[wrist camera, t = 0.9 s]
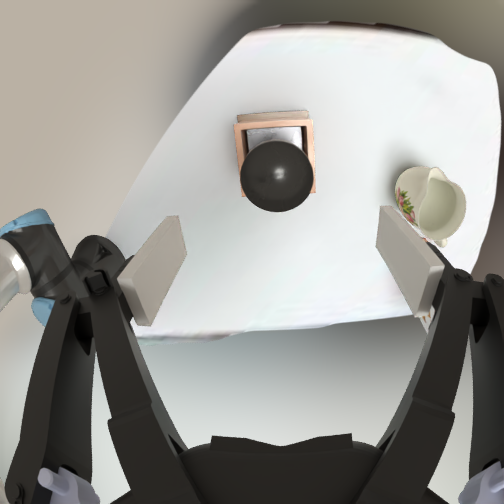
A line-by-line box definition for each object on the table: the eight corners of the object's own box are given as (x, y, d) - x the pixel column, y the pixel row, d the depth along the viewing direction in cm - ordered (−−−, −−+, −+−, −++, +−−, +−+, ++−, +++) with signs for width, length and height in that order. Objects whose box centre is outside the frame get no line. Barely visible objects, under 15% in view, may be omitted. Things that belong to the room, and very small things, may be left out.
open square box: (245, 179, 49) (235, 204, 38) (237, 115, 43) (225, 118, 32) (310, 175, 48) (322, 199, 36) (307, 110, 42) (319, 112, 31)
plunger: (252, 178, 41) (241, 217, 28) (247, 129, 37) (232, 142, 24) (302, 175, 40) (317, 213, 27) (300, 126, 36) (315, 137, 23)
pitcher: (402, 237, 52) (429, 274, 40) (373, 162, 45) (404, 182, 33) (442, 216, 49) (475, 246, 37) (418, 139, 42) (458, 154, 30)
